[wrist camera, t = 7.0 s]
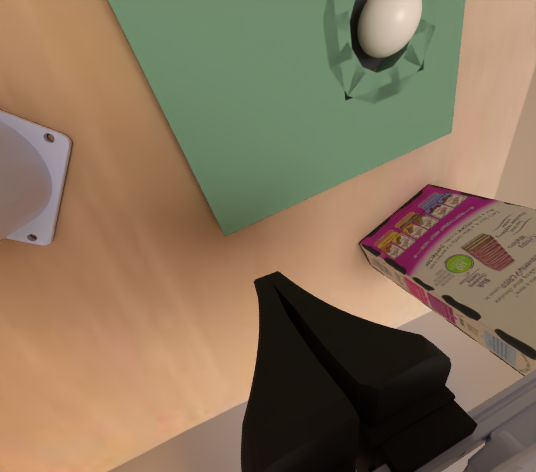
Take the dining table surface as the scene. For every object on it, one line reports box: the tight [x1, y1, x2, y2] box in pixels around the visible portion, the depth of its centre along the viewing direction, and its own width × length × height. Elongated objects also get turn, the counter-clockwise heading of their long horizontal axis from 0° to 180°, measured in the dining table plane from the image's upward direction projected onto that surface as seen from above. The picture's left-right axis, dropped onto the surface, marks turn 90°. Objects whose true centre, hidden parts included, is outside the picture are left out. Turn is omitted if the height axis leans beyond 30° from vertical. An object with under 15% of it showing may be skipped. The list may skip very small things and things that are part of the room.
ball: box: [357, 0, 422, 58], centre depth 16 cm, size 4×4×4 cm
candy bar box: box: [360, 185, 536, 376], centre depth 21 cm, size 11×5×16 cm, turn 127°
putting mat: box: [108, 0, 465, 236], centre depth 16 cm, size 24×20×2 cm
